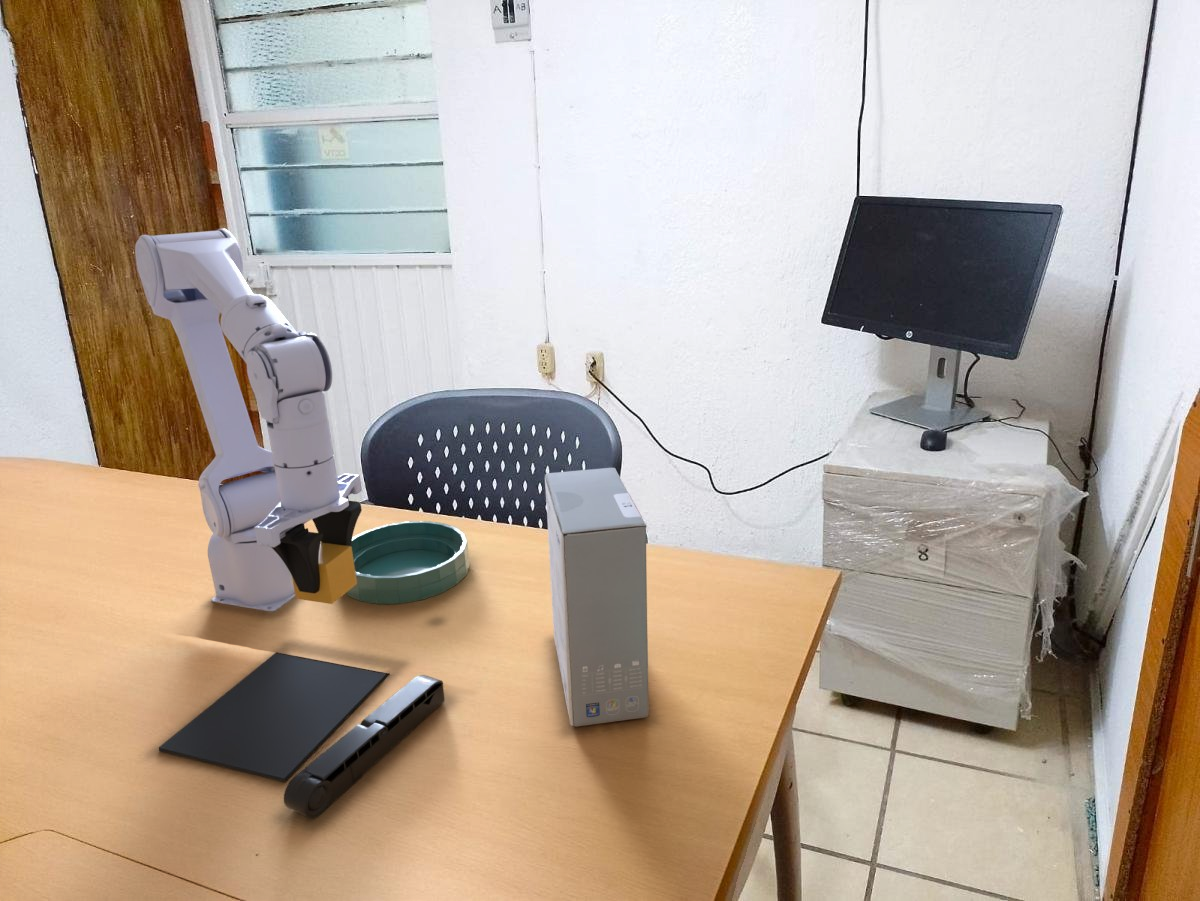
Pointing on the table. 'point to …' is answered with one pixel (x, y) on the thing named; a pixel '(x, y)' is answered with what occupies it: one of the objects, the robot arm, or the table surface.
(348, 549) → the block
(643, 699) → the hard drive box
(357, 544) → the bowl
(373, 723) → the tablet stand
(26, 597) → the table surface
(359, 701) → the mat
